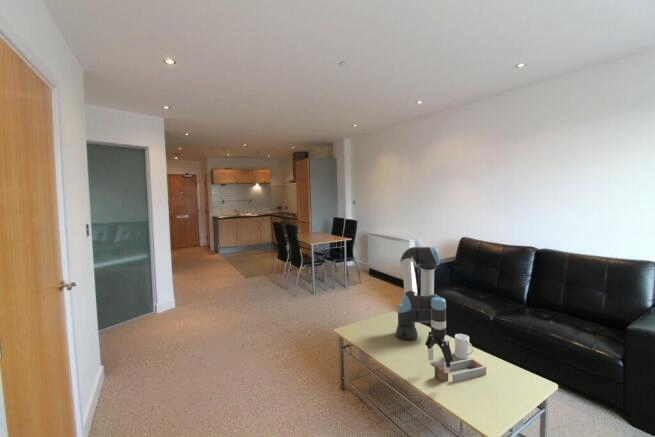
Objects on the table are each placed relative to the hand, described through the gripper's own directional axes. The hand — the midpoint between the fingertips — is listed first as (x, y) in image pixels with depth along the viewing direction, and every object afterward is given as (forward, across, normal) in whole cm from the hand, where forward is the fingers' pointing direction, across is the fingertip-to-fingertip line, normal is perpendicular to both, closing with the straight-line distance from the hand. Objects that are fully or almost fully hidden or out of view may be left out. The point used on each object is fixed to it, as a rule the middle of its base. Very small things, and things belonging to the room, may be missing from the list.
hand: (438, 366), depth 169 cm
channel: (+7, 0, +16) cm, 18 cm away
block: (+8, 0, +2) cm, 8 cm away
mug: (+7, -14, +29) cm, 33 cm away
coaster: (+7, -11, +10) cm, 16 cm away
